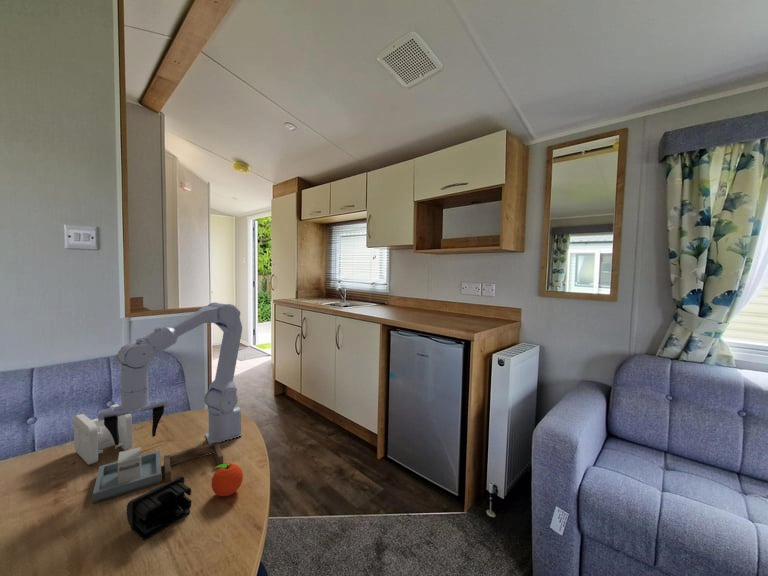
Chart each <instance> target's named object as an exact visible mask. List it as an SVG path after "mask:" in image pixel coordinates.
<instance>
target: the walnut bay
mask: <svg viewBox="0 0 768 576" xmlns="http://www.w3.org/2000/svg"><path fill="white" fill-rule="evenodd" d="M213 452H214V453H213ZM210 453H211V454H213V455H214V454H215V455H214V458H215V460H216V463H217V466H218V465H221V464H224V454H223V452H222V450H221V447H220V444H219V443H218V442H215V443H211V444H209V443H208V444H204V445H200V446H196V447H194V448H193V447H192V448H190V449H186V450H182V451H178V452H175V453H170V454H167V455H163V468H164V481H165V483H164V484H166V483H168V482H170V481H172V469H171V468H172V467H171V466H172V465H176V464H180V463H183V462H187V461H190V460H194V459H197V458H200V456H201V457H204V456H207V455H206V454H208V455H211V454H210ZM203 455H204V456H203Z"/></svg>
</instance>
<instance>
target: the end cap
mask: <svg viewBox="0 0 768 576" xmlns="http://www.w3.org/2000/svg"><path fill="white" fill-rule="evenodd" d="M187 495H188V496H191V495H192V488H191V487H189V486H188V485H186V483H185V477H184V476H177V477H176V478H174V479H171V481H169V482H166V483H164V484H162V485H160V486H158V487H156V488H154V489H152V490H150V491H147V492H145V493H143V494H141V495H139V496H137V497H135V498H133V499H132V500H129V501H128V503H127V505H126V517H127V522H128V523H127V524H128V525H129V528H130V529H131V530H132V532H134V533H135V534H136V535H137V536H138V537H139V538H140V539H141V540H142V541H147V540H149V539H151V538H153V537H154V536H155V535H157V534H159V533H161V532H162V531H163V530H166V529H167V528H168V527H170V526H172V525H173V524H176V523H177V522H179V521H180V520H182V519H184V518H186V517H187V516H189V515H190V514H191V508H192V502H193V501H192V500H191V499H190V498H189V497H188V496H187Z"/></svg>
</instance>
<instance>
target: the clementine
mask: <svg viewBox="0 0 768 576" xmlns="http://www.w3.org/2000/svg"><path fill="white" fill-rule="evenodd" d="M216 468H217V470H216V471H215V472H214V473H213V476H212V478H211V489H212V491H213V492H214V494H216V495H217V496H219V497H229V496H231V495H233V494H234V493H236V492H237V491H238V490H239V489H240V487H241V486H242V483H243V479H244V473H243V470H242V468H241V467H240V466H239V465H238V464H236V463H223V464H221V465H218V464H217V466H215V467H214V469H216ZM214 469H212V470H211V472H213V471H214Z"/></svg>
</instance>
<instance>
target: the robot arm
mask: <svg viewBox="0 0 768 576" xmlns="http://www.w3.org/2000/svg"><path fill="white" fill-rule="evenodd" d="M203 324H214V325H216V326H217V327H218V328H219V329H220V330H221V331H222V332H223V333H222V340H221V345H220V351H219V355H218V360H217V366H216V372H215V377H214V380H213V381H212V382H211V383H210V384H209V386H208V390H207V391H206V393H205V395H204V403H205V405H207V407H208V432H206V433H205V437H206V440H207V443H208V444H211V443H215V442H219V443H223V442H226V441H225V440H227V441H229V440H228V439H230V440H232V439H231V438H234V439H236V438H235V437H238V438H240V437H239V436H241V435H242V414H241V409H240V406H237V404H238V401H239V400H238V394H237V393H238V392H237V391H238V388H237V386H236V384H235V382H234V376H235V371H236V367H237V366H236V365H237V360H238V354H239V350H240V344H241V338H242V332H243V324H242V321H241V311H240V310H239V309H238V307H236V305H234V304H231V303H229V304H228V303H219V302H210V303H209V304H207V305H204V306H202V307H200V309H198V310H197V311H196V312H193V313H191V314H190V315H189V316H187V317H186V318H184V319H183V320H182V319H181V321H178V322H177V323H175V324H174V325H172V326H170V327H167V326H162V327H159V326H158V327H155V328H154V329H153V332H151V333H149V334H147V335H146V336H143V337H142V338H141V337H138V338H136V339H135V342H132V343H131V342H130V343H126V344H124V345H123V346H121V347H120V349H119V350H118V352H117V354H116V355H115V358H116V360H117V362H118V363H119V364H120V401H121V402H120V405H119V406H117V407H113V408H110V407H109V408H110V409H109V408H106V409H102V410H101V409H100V410H99V411H98V414H97V417H98V421H101V420H104V425H105V427H106V428H107V429H108V430H109V432H110V433H111V435H112V437H113V439H114V442H115V445H114V447H115V446H116V445H119V433H118V416H121V415H126V414H131V415H132V414H133V415H134V414H137V413H140V412H145V411H146V412H147V411H150V410H152V427H151V436H152V438H153V437H156V434H157V433H156V432H157V428H158V426H159V423H160V421H161V418H162V417H163V414H164V412H165V408H169V407H170V405H169V404H170V403H169V397H167V398H158V399H150V398H149V370H148V369H149V368H148V367H149V364H150V362H151V361H152V358H153V357H155V356H156V355H158V354H160V353H162V352H163V351H164V350H167V349H168V348H170V347H171V346H173V345H175V344H176V343H177V341H178V338H179V337H181V336H182V335H184V334H186V333H187V332H190V331H192V330H194V329H196V328H198V327H200V326H202V325H203ZM241 437H242V436H241ZM222 441H223V442H222Z"/></svg>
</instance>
